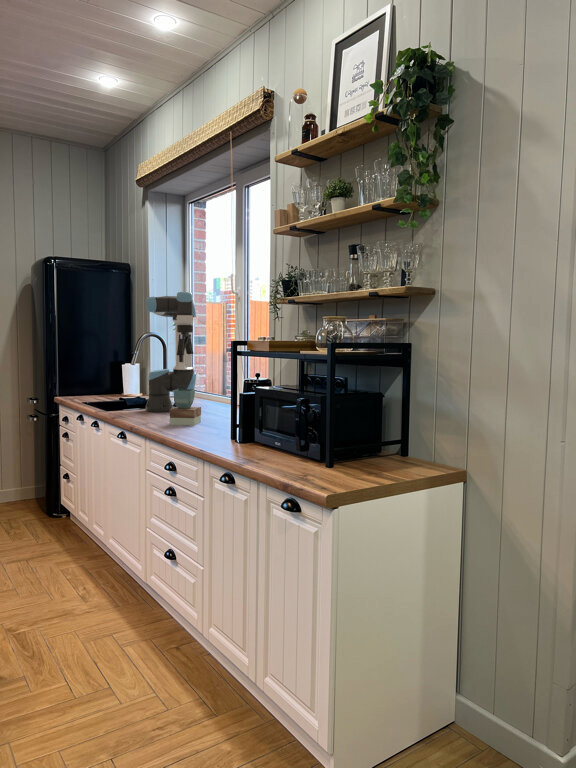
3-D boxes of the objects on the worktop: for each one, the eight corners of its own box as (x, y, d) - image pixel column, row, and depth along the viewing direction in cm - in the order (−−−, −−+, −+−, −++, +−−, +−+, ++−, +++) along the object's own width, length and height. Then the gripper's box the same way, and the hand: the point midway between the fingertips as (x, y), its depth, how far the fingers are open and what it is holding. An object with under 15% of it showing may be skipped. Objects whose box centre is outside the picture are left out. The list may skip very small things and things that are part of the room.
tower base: (177, 422, 292) (177, 414, 292) (200, 422, 291) (200, 414, 290) (169, 426, 280) (169, 417, 280) (194, 426, 279) (194, 418, 278)
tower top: (177, 414, 292) (177, 406, 291) (201, 414, 290) (201, 406, 290) (169, 417, 280) (169, 409, 280) (193, 418, 278) (193, 409, 278)
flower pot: (195, 407, 289) (195, 388, 289) (191, 409, 281) (190, 390, 280) (178, 406, 290) (177, 388, 289) (173, 409, 281) (172, 390, 281)
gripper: (184, 324, 295) (184, 366, 297) (169, 323, 271) (170, 369, 272) (198, 324, 295) (199, 366, 297) (185, 324, 270) (186, 369, 272)
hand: (185, 368), depth 284 cm, fingers open, 13 cm apart
